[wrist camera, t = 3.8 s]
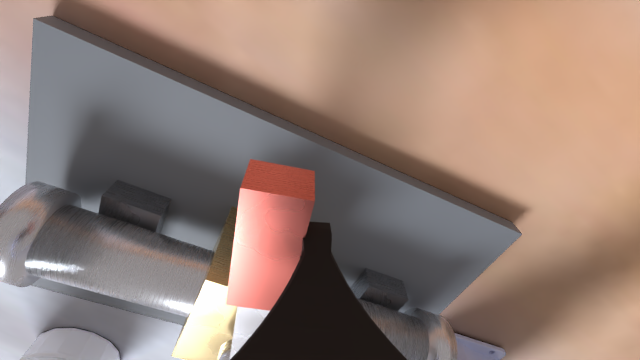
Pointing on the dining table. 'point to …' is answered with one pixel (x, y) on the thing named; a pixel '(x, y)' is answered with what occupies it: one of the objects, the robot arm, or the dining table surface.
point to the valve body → (170, 268)
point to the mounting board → (234, 169)
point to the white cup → (71, 346)
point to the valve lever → (266, 242)
